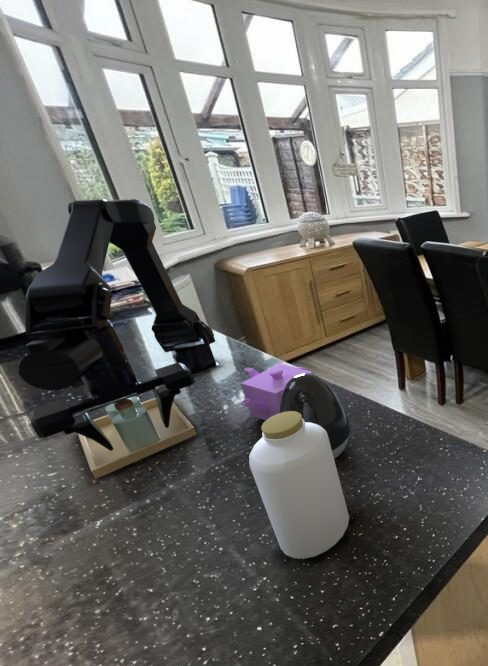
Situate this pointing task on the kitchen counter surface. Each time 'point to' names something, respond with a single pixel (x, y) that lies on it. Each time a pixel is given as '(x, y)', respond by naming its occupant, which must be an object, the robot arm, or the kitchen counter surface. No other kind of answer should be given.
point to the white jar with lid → (299, 485)
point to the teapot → (267, 389)
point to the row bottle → (113, 412)
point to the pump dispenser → (317, 408)
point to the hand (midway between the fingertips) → (140, 437)
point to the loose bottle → (134, 426)
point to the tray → (110, 461)
